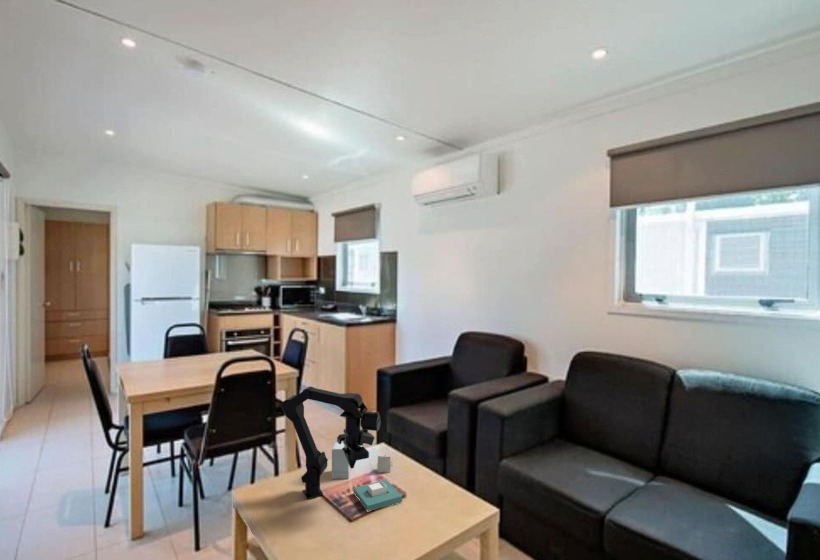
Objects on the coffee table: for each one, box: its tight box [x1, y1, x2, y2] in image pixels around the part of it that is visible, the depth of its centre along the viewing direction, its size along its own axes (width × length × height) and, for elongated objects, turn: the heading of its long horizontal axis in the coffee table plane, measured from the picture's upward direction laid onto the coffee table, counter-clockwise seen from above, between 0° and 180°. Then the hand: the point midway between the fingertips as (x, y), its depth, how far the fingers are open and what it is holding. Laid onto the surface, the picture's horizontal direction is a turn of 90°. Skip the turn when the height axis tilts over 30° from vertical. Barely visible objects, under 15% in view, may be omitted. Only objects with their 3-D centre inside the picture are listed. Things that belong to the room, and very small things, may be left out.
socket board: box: [353, 479, 403, 511], centre depth 161 cm, size 14×14×2 cm
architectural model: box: [376, 454, 395, 474], centre depth 183 cm, size 3×7×7 cm, turn 86°
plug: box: [368, 482, 387, 498], centre depth 161 cm, size 4×6×5 cm, turn 118°
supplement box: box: [331, 441, 352, 480], centre depth 179 cm, size 7×7×13 cm
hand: (351, 468), depth 161 cm, fingers closed
